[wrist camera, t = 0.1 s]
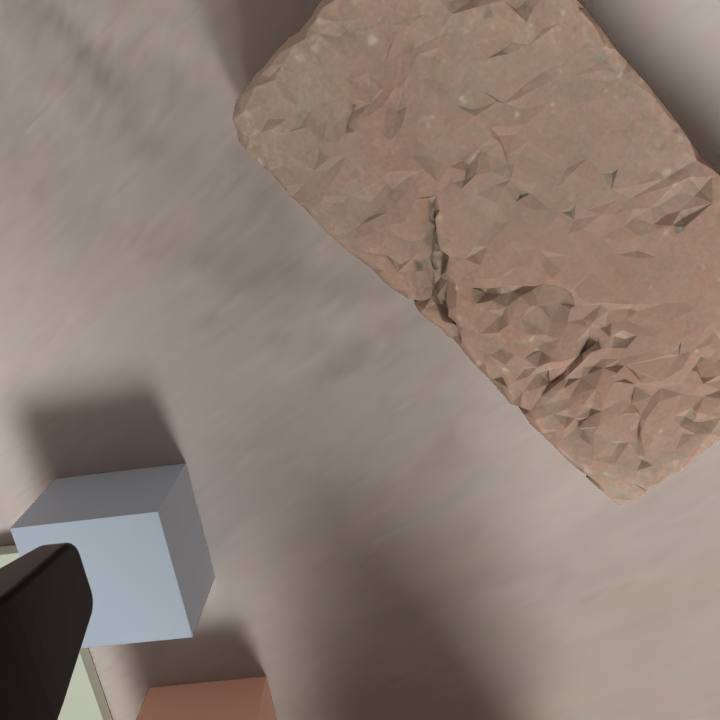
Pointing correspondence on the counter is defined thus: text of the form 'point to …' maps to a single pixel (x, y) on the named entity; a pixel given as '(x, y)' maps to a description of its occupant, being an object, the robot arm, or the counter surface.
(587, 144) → the brick
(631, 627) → the counter surface
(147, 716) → the brick terracotta
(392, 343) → the counter surface
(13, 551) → the plate
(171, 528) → the brick slate
